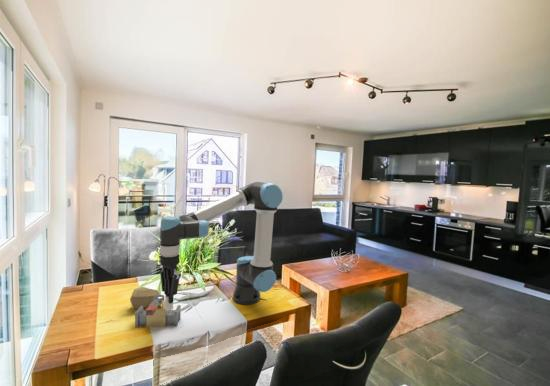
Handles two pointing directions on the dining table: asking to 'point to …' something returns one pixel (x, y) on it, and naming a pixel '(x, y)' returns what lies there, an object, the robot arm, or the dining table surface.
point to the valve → (158, 317)
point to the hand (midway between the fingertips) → (169, 309)
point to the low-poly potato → (142, 297)
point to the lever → (154, 304)
